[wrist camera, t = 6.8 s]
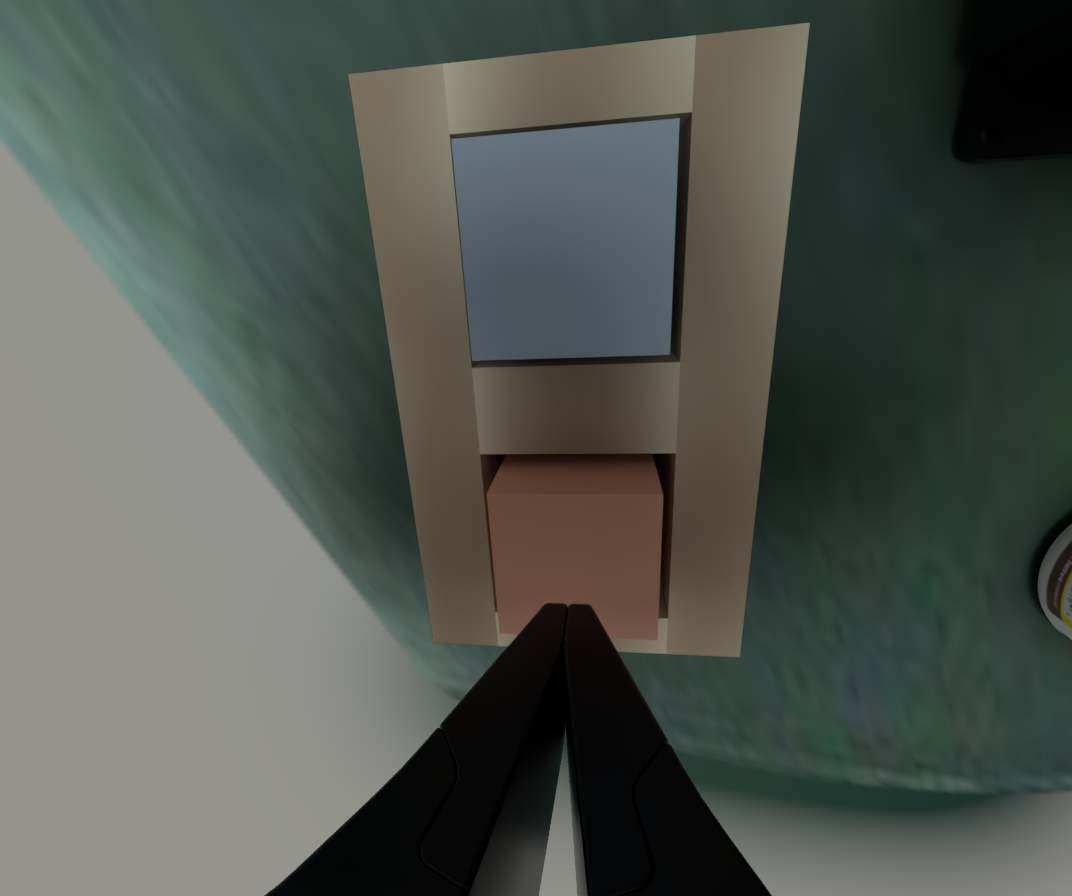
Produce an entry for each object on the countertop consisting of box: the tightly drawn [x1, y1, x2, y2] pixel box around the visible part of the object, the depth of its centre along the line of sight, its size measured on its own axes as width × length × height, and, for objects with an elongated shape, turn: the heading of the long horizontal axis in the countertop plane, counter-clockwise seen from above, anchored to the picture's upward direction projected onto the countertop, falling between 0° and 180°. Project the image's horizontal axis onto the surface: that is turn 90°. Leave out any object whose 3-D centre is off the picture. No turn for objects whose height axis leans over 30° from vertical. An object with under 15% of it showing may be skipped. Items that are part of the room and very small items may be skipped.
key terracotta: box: [487, 453, 663, 641], centre depth 12 cm, size 4×4×3 cm
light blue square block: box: [451, 118, 680, 361], centre depth 10 cm, size 4×4×3 cm
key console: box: [348, 23, 810, 657], centre depth 13 cm, size 8×13×4 cm, turn 3°
